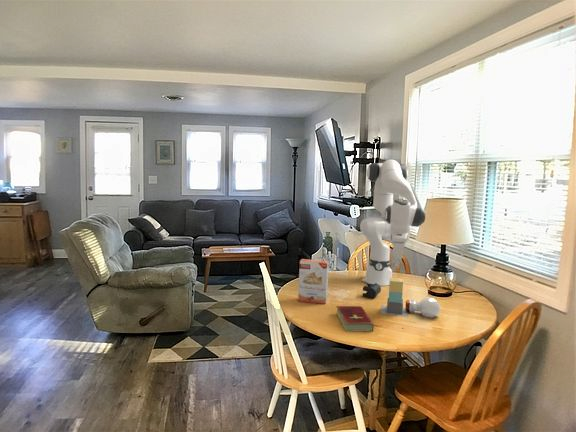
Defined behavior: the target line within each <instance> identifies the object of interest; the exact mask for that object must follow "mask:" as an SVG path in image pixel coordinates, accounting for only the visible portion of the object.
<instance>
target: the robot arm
mask: <svg viewBox="0 0 576 432" xmlns="http://www.w3.org/2000/svg"><path fill="white" fill-rule="evenodd" d="M408 175H409V170H408V167H407V165H406V164H404V163H401V162H400V163H399V162H398V161H397V160H396V159H395V160H394V159H387V160H385V161H384V162H378V163H377V162H374V163H370V164H369V165H368V168H367V170H366V177H367V179H368V181H369V182H371V183H374V188H373V200H372V201H373V204H372V205H373V208H374V209H375V210H376V211H378V212H380V214H381V217H375V216H374V217H366V218H363V219H362V221H360V223H359V224H360V225H359V228H360V229H359V230H360V232H361V234H362V235H364V237H366V239H367V241H368V242H369V245H370V257H369V259H368V261H369V263H368V266H367V267H366V268H365V269H366V270H365V277H363V279H362V280H361V281H362V282H364V283H366V284H368V283H369V284H375V283H377V284H379V285H380V287H383V286H385V287H386V286H389V282H390V278H393V270H392V268H391V267H390V266H391V259H390V254H391V248H390V247H391V246H390V245H389V244H388V243H386V242H385V241H383V239H382V237H388V238H389V239H390V240H391V243H392V254H393V259H394V263H395V264H394V267H395V268H400V262H401V260H402V259H403V256H404V250H405V245H406V243H407V242H408V241H409V240H410V229H411V227H416V228H417V227H421V225H423V224H424V223H425V220H426V211H425V209H424V207H423V206H422V205H421V203H420V201H419V199H418V196H417V194H416V191H415V189H414V187H413V185H412V183H410V182H408V180H407V178H408ZM394 195H396V196H400V197H402V198H404V199H401V198H399V199H395V200H394Z"/></svg>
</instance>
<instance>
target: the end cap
mask: <svg viewBox="0 0 576 432" xmlns="http://www.w3.org/2000/svg"><path fill="white" fill-rule="evenodd" d="M362 287H363V288H362V297H366V298H369V299H372V300H374V299H375V298H376V297H377V296H378V295H379V294H380V293H381V291H382V286H380V285H379V284H377V283H375V284H369V283H366V285H364V286H362ZM363 291H364V292H363Z"/></svg>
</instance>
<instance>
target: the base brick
mask: <svg viewBox="0 0 576 432" xmlns="http://www.w3.org/2000/svg"><path fill="white" fill-rule="evenodd" d="M388 300H389V297H387V301H386V303H387V304H386V306H387V313H396V314H402V311H403V308H404V299H403V298H402V303H395V302H388Z"/></svg>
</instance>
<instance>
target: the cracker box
mask: <svg viewBox="0 0 576 432" xmlns="http://www.w3.org/2000/svg"><path fill="white" fill-rule="evenodd" d="M329 262H330V261H328V260H319V259H317V260H316V259H305V258H301V259H300V260H299V267H298V268H299V272H298V297H297V298H298V299H297V302H302V303H311V304H313V303H314V304H320V305H326V303H327V300H328V284H329V283H328V282H329V280H328V279H329Z"/></svg>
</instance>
